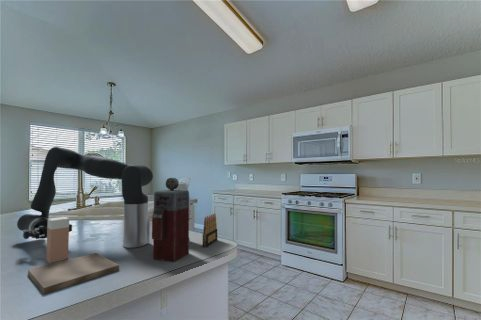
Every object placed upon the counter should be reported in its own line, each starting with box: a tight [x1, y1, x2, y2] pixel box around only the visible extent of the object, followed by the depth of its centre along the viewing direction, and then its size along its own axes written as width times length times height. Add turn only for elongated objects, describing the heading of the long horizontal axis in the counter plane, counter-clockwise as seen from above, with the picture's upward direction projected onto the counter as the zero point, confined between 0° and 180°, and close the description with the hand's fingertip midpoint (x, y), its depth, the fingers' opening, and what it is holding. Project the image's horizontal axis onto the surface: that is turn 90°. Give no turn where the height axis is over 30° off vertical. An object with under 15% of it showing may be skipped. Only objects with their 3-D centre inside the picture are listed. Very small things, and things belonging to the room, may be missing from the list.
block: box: [45, 216, 70, 264], centre depth 81 cm, size 5×5×14 cm
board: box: [27, 252, 120, 295], centre depth 70 cm, size 18×18×2 cm
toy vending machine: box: [151, 177, 190, 263], centre depth 82 cm, size 9×11×28 cm
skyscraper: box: [174, 177, 191, 243], centre depth 101 cm, size 8×8×28 cm
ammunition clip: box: [202, 212, 218, 249], centre depth 98 cm, size 11×2×12 cm, turn 161°
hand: (53, 233), depth 85 cm, fingers open, 8 cm apart
